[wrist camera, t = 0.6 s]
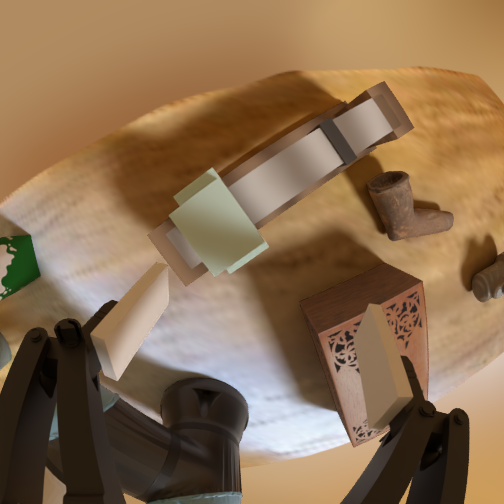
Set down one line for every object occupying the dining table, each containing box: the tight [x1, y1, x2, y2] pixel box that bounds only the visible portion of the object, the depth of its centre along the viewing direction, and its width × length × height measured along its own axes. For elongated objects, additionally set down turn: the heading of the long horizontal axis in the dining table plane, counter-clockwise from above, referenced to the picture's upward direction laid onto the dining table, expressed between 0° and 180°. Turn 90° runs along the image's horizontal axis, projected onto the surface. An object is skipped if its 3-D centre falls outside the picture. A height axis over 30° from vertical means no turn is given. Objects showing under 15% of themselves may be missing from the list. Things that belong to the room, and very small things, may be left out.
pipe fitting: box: [472, 252, 504, 302], centre depth 35 cm, size 12×8×10 cm, turn 108°
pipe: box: [367, 171, 454, 241], centre depth 33 cm, size 6×17×10 cm
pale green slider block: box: [169, 167, 269, 277], centre depth 23 cm, size 4×8×13 cm, turn 35°
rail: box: [147, 81, 414, 286], centre depth 28 cm, size 29×8×11 cm, turn 125°
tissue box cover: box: [299, 263, 429, 447], centre depth 35 cm, size 26×14×10 cm, turn 22°
